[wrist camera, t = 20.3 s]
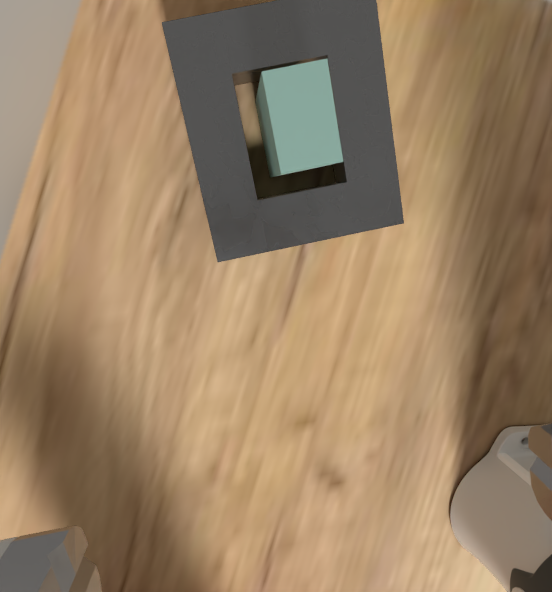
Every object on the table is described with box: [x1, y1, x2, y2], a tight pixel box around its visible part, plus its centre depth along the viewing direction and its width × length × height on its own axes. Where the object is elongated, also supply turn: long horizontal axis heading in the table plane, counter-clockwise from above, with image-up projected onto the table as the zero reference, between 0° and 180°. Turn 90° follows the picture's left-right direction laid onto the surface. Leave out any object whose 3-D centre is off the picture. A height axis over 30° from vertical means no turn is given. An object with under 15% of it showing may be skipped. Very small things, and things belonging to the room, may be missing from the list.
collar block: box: [162, 0, 404, 262], centre depth 35 cm, size 15×17×4 cm
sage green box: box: [255, 59, 343, 177], centre depth 32 cm, size 4×6×10 cm, turn 11°
